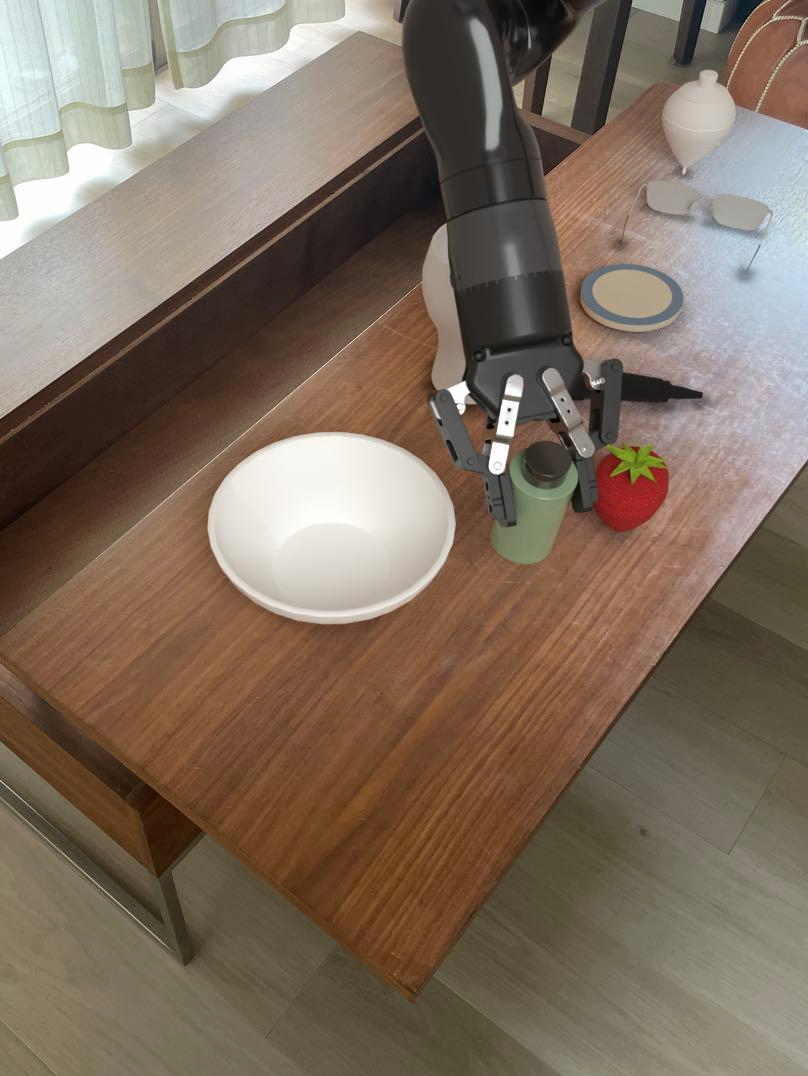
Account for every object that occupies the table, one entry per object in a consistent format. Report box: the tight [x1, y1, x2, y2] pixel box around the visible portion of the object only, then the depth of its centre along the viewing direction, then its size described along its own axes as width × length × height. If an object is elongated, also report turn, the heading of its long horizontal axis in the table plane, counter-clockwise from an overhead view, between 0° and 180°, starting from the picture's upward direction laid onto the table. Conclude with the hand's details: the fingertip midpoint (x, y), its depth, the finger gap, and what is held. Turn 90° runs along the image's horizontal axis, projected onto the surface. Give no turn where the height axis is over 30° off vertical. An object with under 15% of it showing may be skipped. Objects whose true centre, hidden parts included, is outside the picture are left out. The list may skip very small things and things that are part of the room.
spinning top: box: [661, 69, 737, 175], centre depth 122 cm, size 8×8×12 cm
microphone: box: [570, 371, 704, 404], centre depth 102 cm, size 6×6×20 cm
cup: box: [421, 222, 478, 405], centre depth 100 cm, size 11×11×15 cm
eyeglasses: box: [620, 179, 774, 274], centre depth 117 cm, size 14×8×4 cm, turn 62°
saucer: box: [579, 263, 684, 333], centre depth 111 cm, size 10×10×2 cm
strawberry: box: [593, 438, 670, 533], centre depth 89 cm, size 6×8×10 cm
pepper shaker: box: [489, 440, 578, 565], centre depth 79 cm, size 5×5×10 cm
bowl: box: [207, 431, 456, 625], centre depth 89 cm, size 20×20×7 cm
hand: (546, 517), depth 78 cm, fingers closed on pepper shaker, 5 cm apart
